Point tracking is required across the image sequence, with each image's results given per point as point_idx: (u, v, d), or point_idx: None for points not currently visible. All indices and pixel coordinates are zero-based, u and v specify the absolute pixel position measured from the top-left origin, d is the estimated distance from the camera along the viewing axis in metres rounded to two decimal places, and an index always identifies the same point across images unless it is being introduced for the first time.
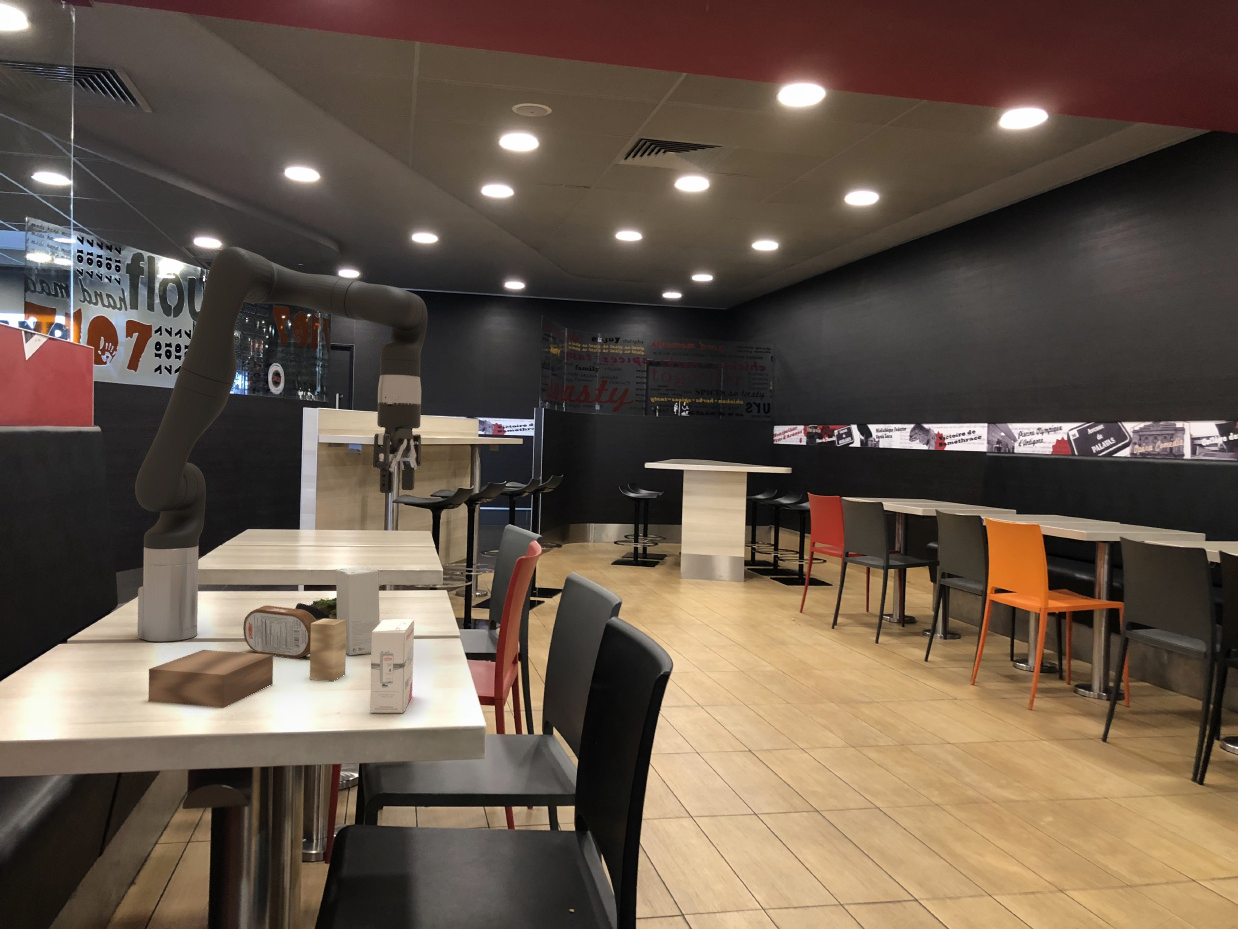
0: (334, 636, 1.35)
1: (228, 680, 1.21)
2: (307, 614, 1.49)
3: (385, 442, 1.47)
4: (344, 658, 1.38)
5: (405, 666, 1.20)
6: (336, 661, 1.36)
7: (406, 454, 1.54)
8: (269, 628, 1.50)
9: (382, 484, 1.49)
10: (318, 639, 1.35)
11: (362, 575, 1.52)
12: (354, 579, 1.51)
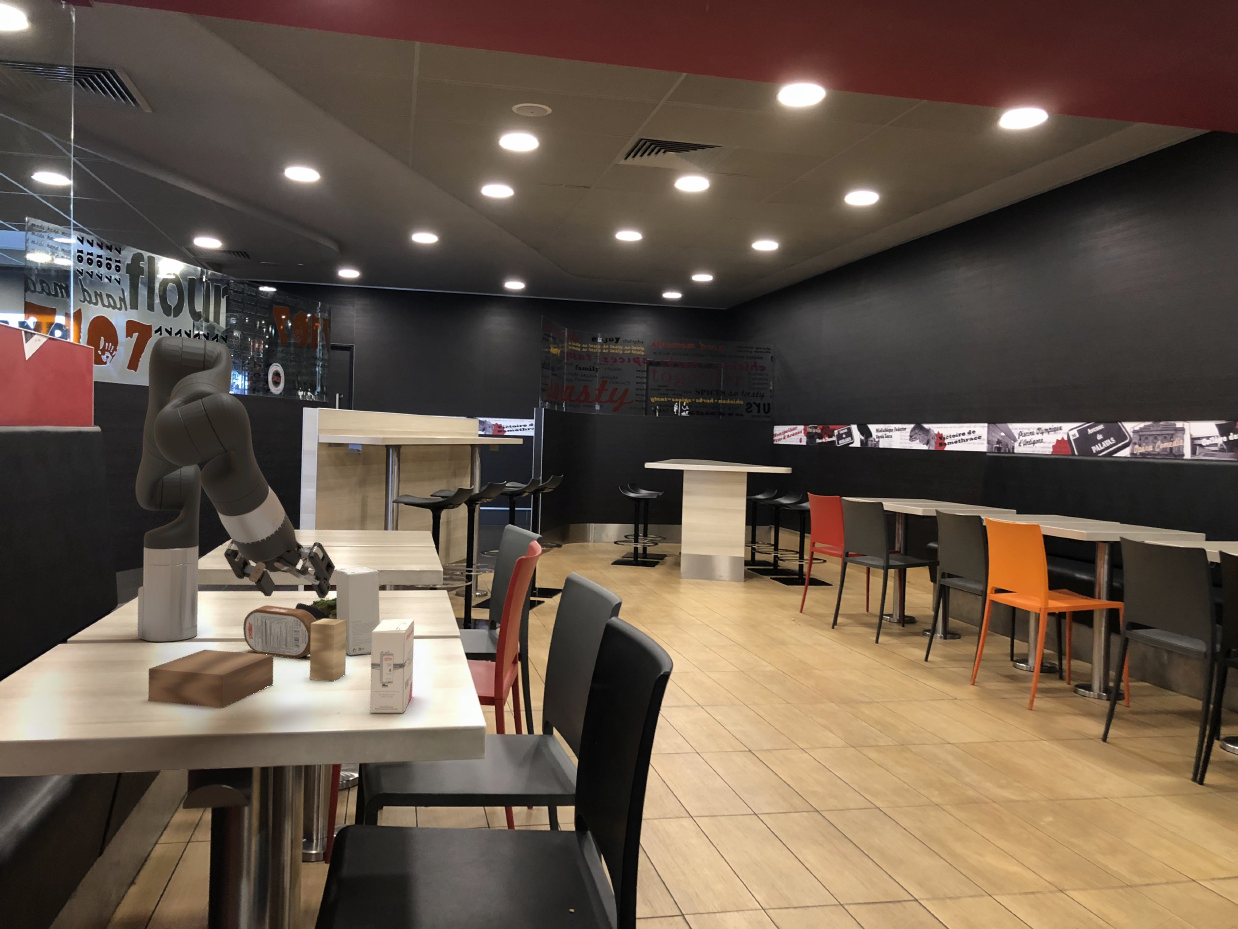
0: (334, 636, 1.35)
1: (227, 680, 1.21)
2: (307, 614, 1.49)
3: None
4: (344, 658, 1.38)
5: (405, 666, 1.20)
6: (336, 661, 1.36)
7: (285, 570, 1.20)
8: (269, 628, 1.50)
9: None
10: (318, 639, 1.35)
11: (362, 575, 1.52)
12: (354, 579, 1.51)
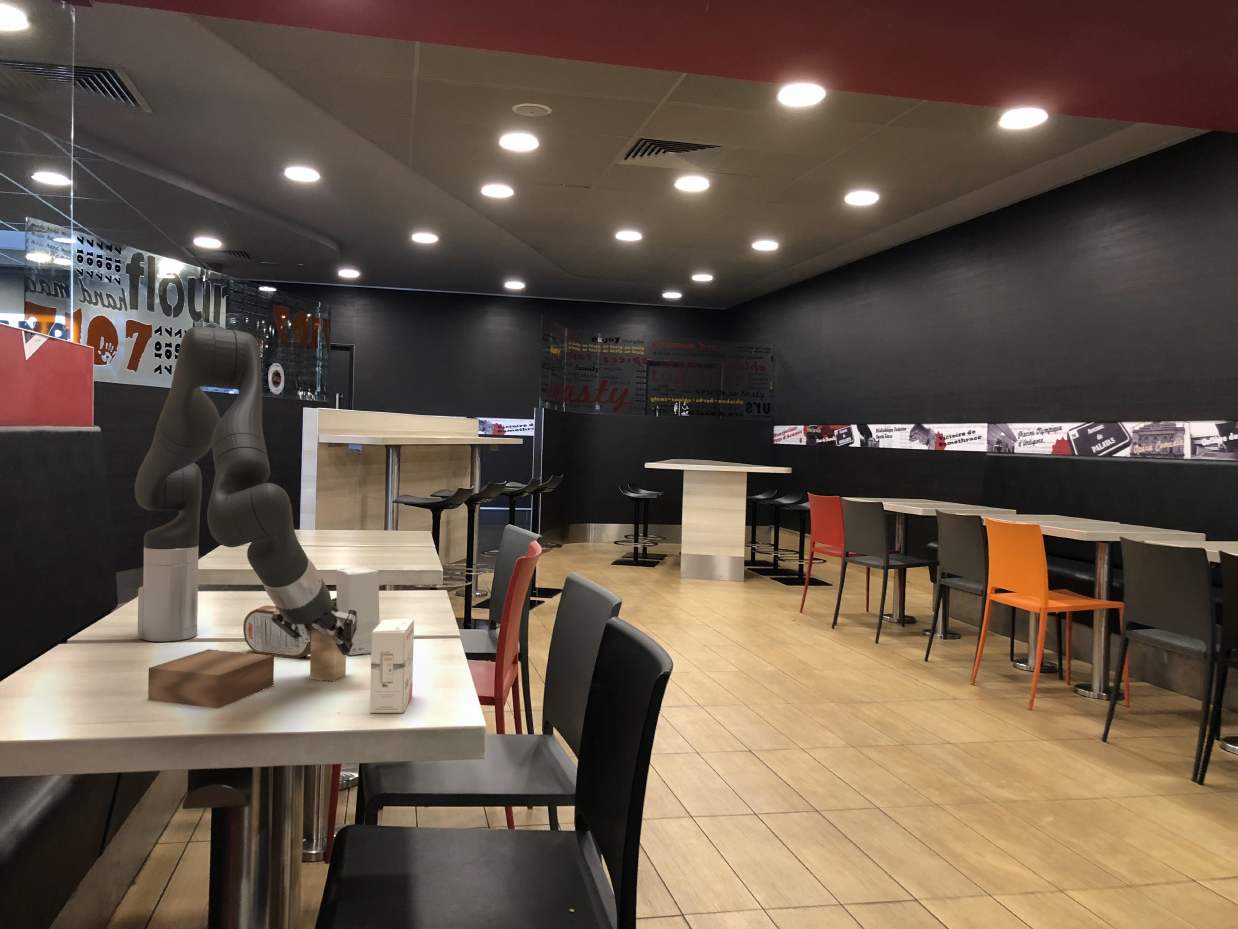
0: None
1: (224, 681, 1.21)
2: None
3: None
4: (344, 657, 1.38)
5: (405, 666, 1.20)
6: (336, 661, 1.36)
7: None
8: (269, 628, 1.50)
9: None
10: (318, 639, 1.35)
11: (362, 575, 1.52)
12: (354, 579, 1.51)
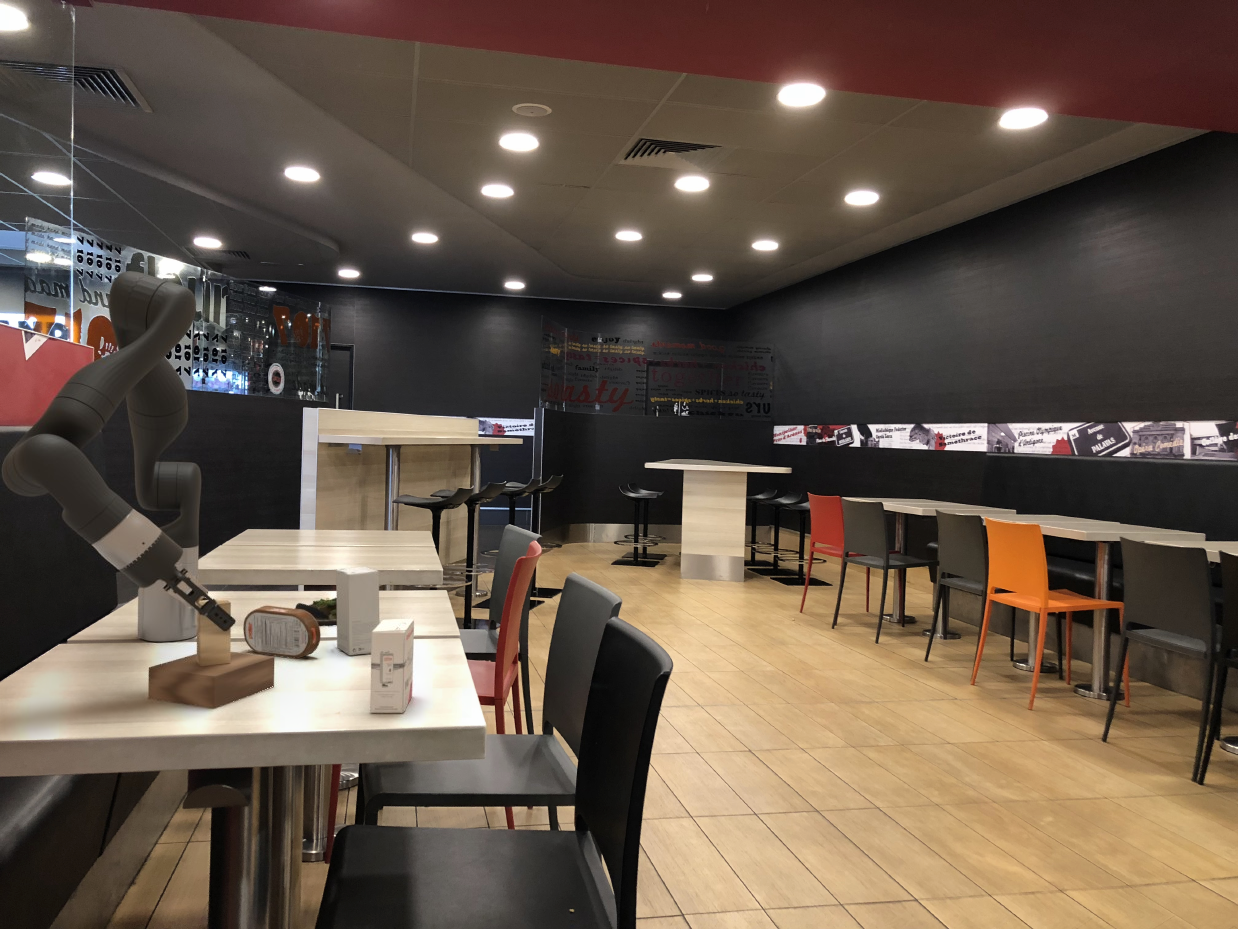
0: (203, 617, 1.24)
1: (220, 682, 1.21)
2: (307, 614, 1.49)
3: None
4: (227, 644, 1.26)
5: (405, 666, 1.20)
6: (208, 645, 1.25)
7: None
8: (269, 628, 1.50)
9: None
10: (198, 619, 1.27)
11: (362, 575, 1.52)
12: (354, 579, 1.51)
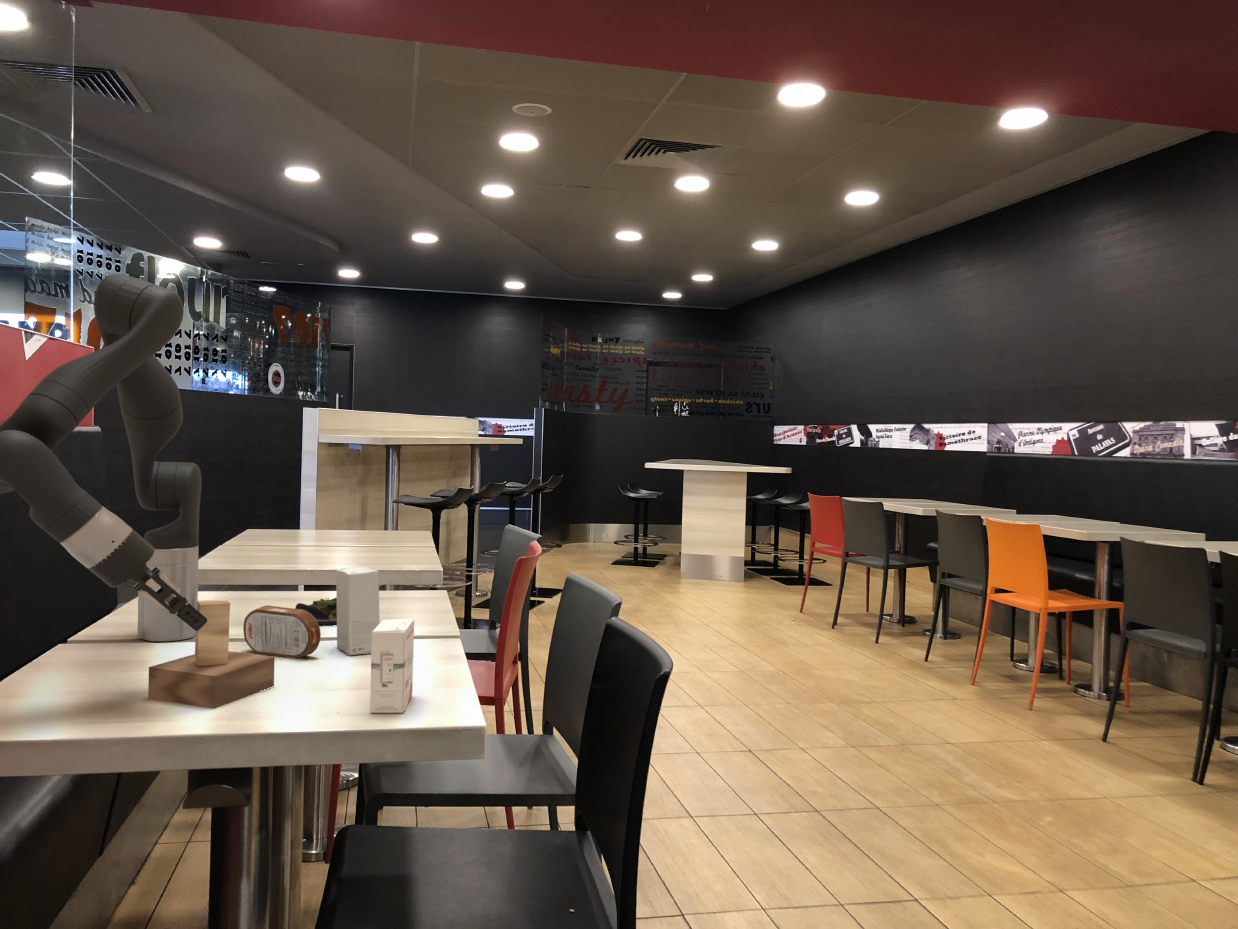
0: None
1: (220, 681, 1.21)
2: (307, 614, 1.49)
3: None
4: (224, 644, 1.26)
5: (405, 666, 1.20)
6: (206, 645, 1.25)
7: None
8: (269, 628, 1.50)
9: None
10: None
11: (362, 575, 1.52)
12: (354, 579, 1.51)
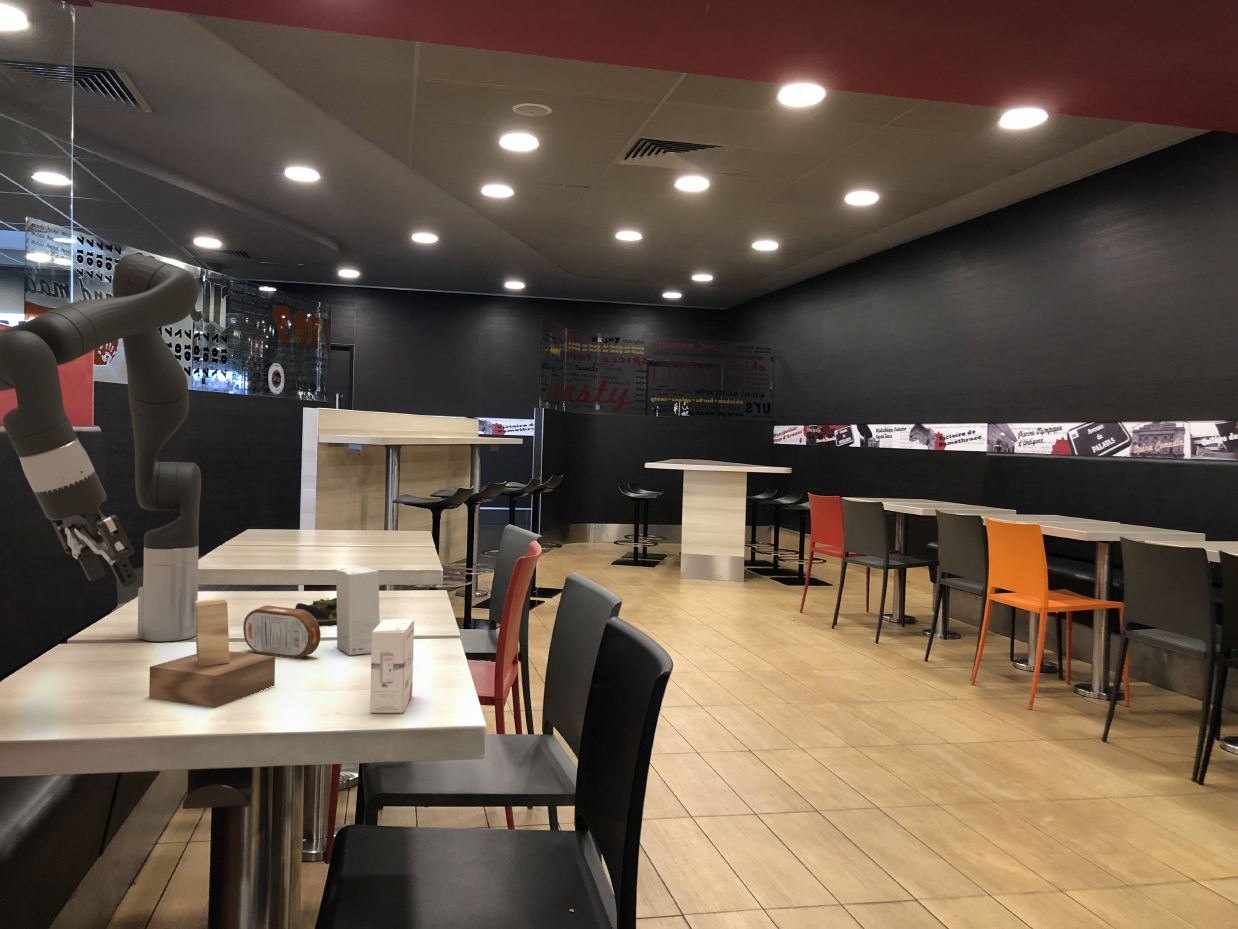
0: (199, 618, 1.24)
1: (221, 681, 1.21)
2: (307, 614, 1.49)
3: None
4: (225, 643, 1.26)
5: (405, 666, 1.20)
6: (206, 646, 1.25)
7: None
8: (269, 628, 1.50)
9: None
10: (196, 619, 1.26)
11: (362, 575, 1.52)
12: (354, 579, 1.51)
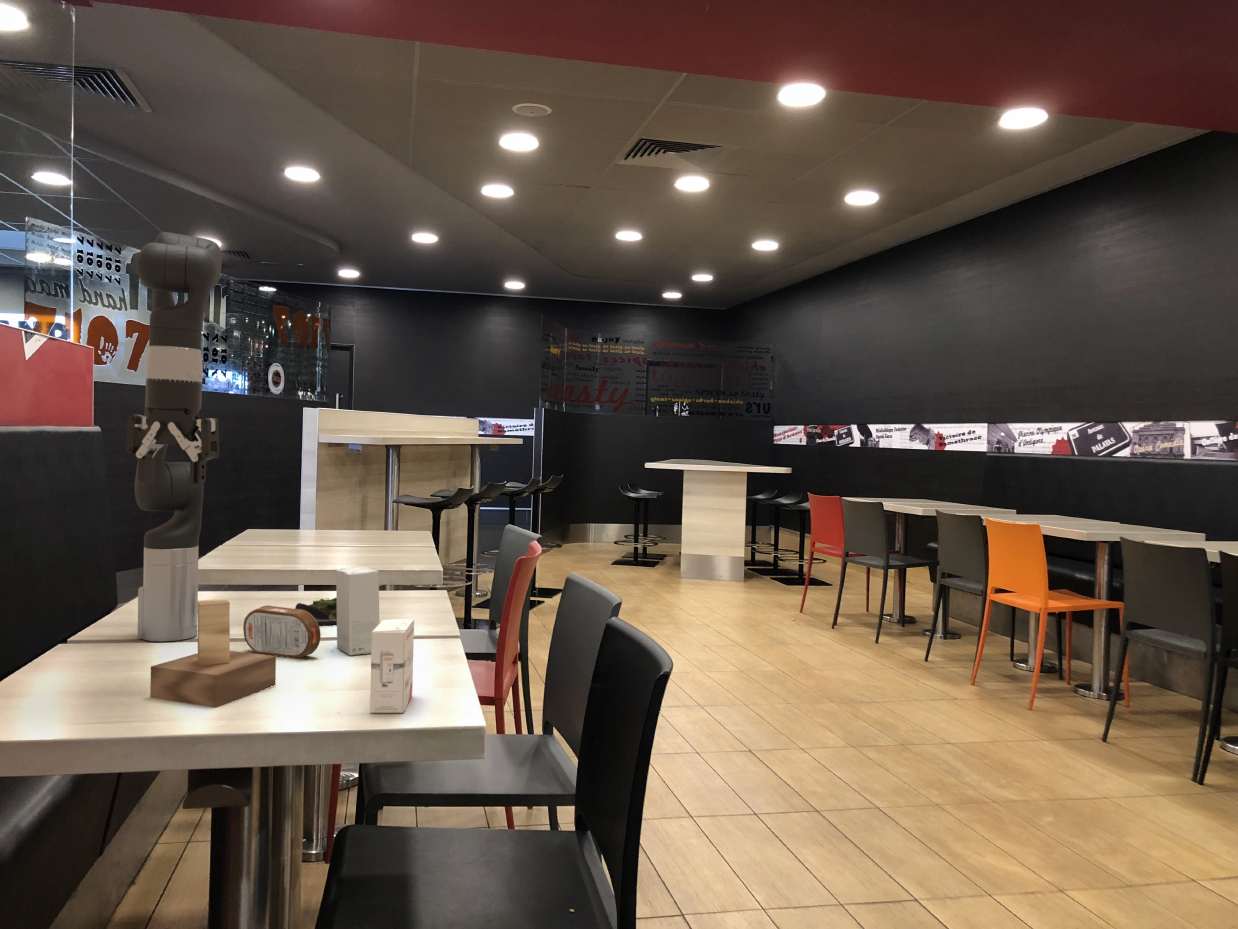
0: (201, 617, 1.25)
1: (222, 680, 1.21)
2: (307, 614, 1.49)
3: None
4: (226, 643, 1.26)
5: (405, 666, 1.20)
6: (207, 645, 1.25)
7: (174, 441, 1.28)
8: (269, 628, 1.50)
9: None
10: (198, 618, 1.27)
11: (362, 575, 1.52)
12: (354, 579, 1.51)
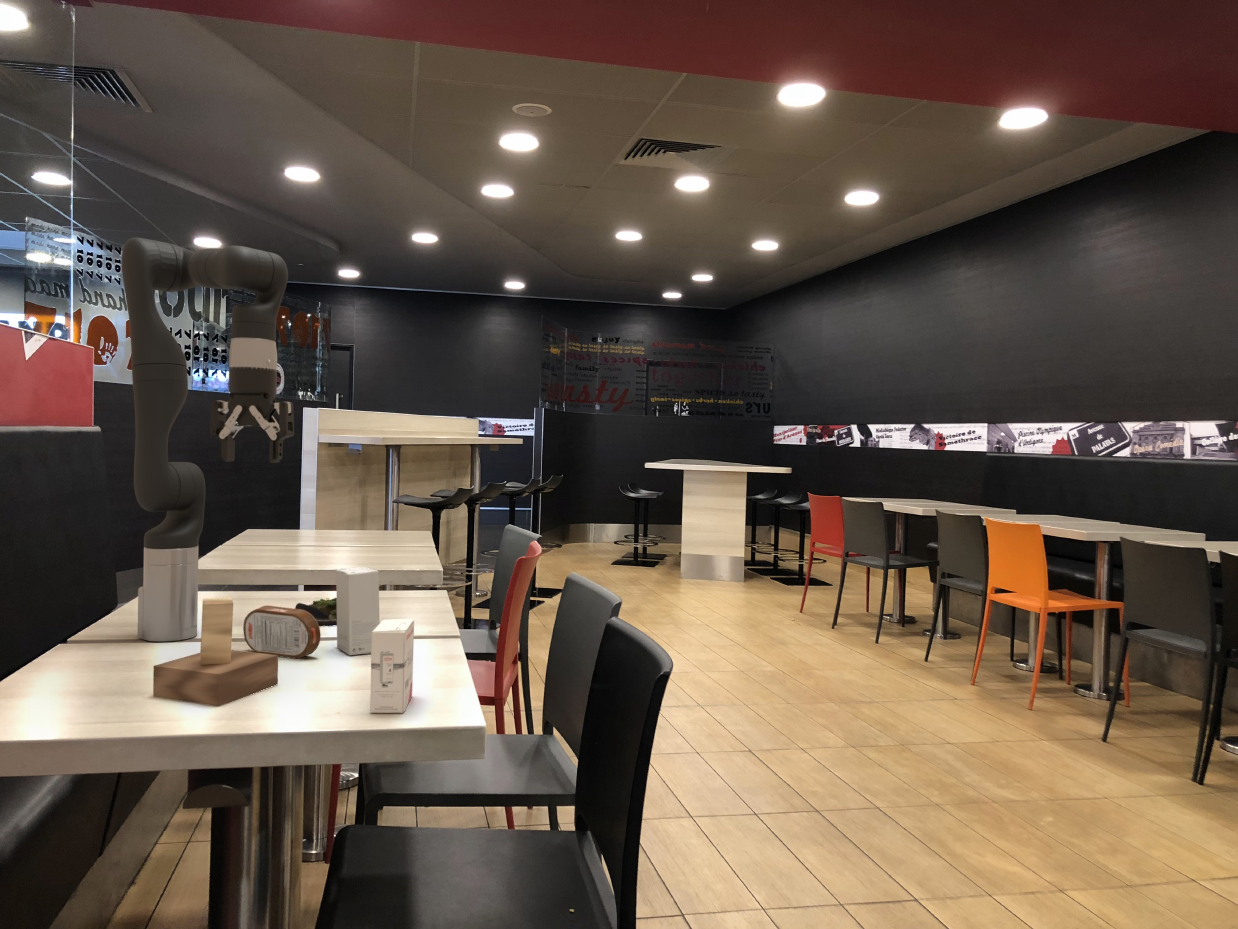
0: (205, 617, 1.25)
1: (224, 679, 1.22)
2: (307, 614, 1.49)
3: None
4: (227, 644, 1.27)
5: (405, 666, 1.20)
6: (209, 644, 1.25)
7: (254, 422, 1.44)
8: (269, 628, 1.50)
9: None
10: None
11: (362, 575, 1.52)
12: (354, 579, 1.51)
